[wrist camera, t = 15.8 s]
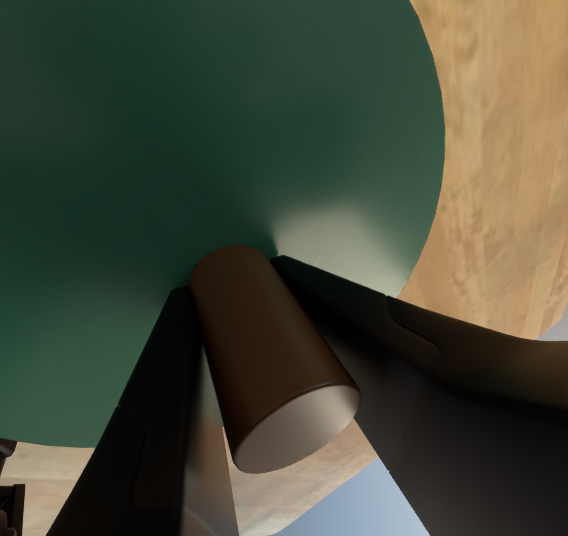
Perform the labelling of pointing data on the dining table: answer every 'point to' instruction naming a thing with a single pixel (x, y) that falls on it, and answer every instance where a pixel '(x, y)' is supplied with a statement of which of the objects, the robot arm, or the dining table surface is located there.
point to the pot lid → (204, 200)
